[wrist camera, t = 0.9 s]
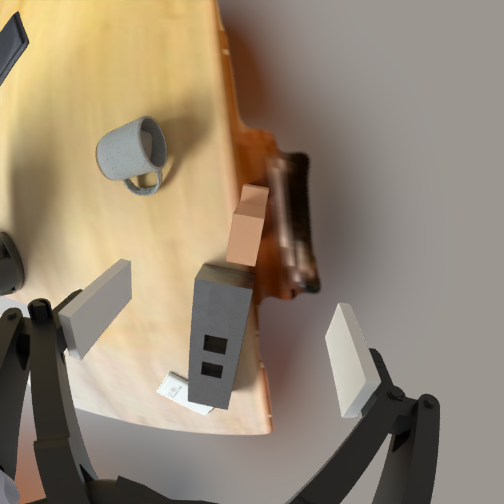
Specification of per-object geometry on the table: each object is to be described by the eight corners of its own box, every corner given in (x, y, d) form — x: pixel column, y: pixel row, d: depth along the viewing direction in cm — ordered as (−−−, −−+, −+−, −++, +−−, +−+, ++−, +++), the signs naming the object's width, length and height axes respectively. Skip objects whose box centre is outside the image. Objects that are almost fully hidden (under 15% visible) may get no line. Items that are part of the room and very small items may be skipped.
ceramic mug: (114, 136, 35) (85, 136, 28) (160, 117, 34) (136, 112, 27) (130, 200, 39) (104, 212, 32) (177, 186, 38) (157, 196, 31)
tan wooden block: (236, 241, 40) (223, 278, 29) (247, 180, 37) (236, 193, 25) (257, 245, 40) (251, 283, 29) (269, 184, 37) (268, 198, 25)
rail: (193, 383, 52) (187, 401, 47) (203, 263, 41) (194, 278, 37) (230, 391, 52) (227, 409, 47) (255, 273, 41) (253, 289, 37)
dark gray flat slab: (26, 43, 26) (-9, 95, 30) (31, 44, 28) (-4, 95, 32) (16, 7, 21) (-17, 52, 24) (20, 8, 22) (-12, 53, 26)
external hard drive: (205, 410, 56) (157, 387, 54) (221, 395, 53) (170, 369, 51) (204, 416, 54) (155, 392, 52) (220, 401, 51) (167, 375, 50)
